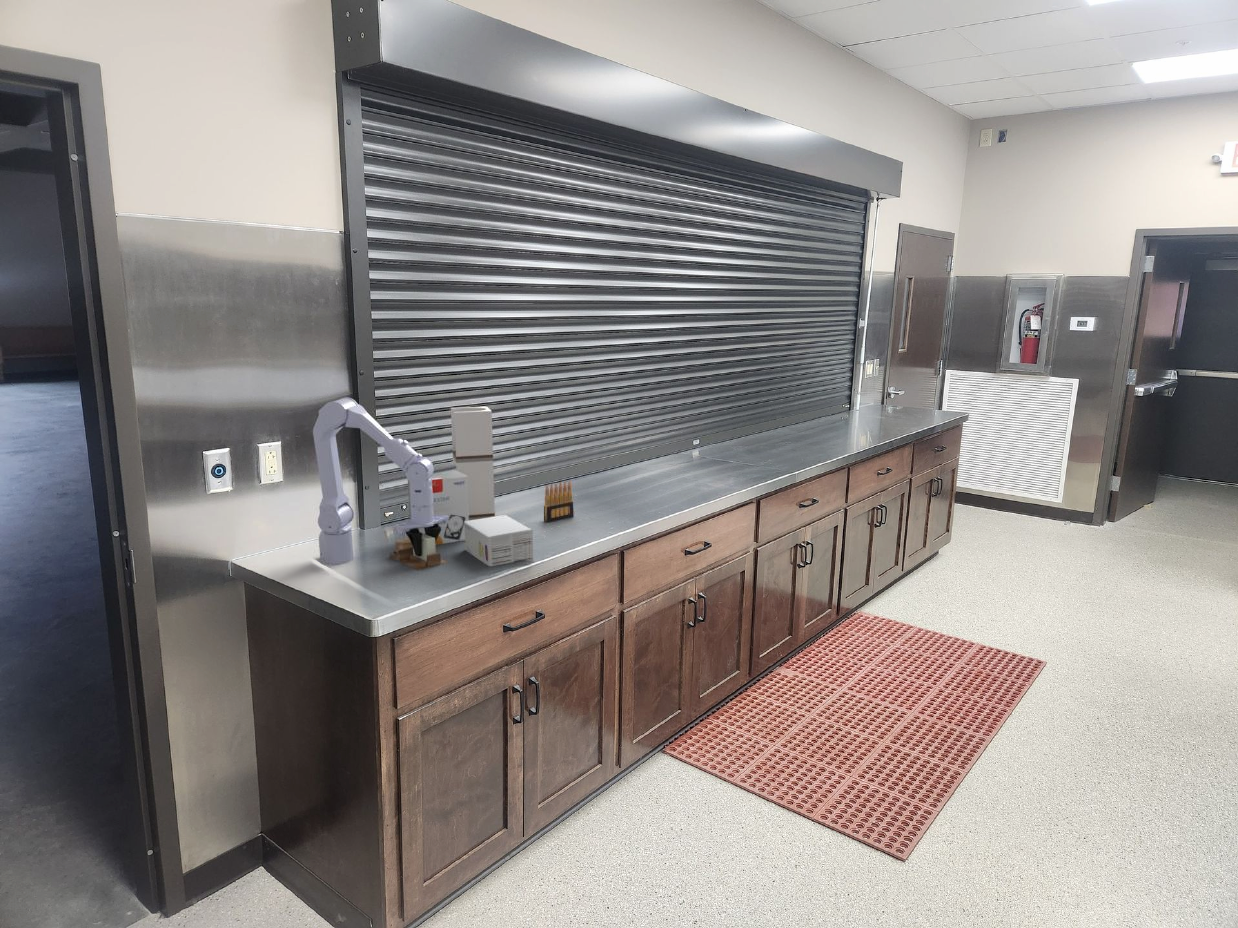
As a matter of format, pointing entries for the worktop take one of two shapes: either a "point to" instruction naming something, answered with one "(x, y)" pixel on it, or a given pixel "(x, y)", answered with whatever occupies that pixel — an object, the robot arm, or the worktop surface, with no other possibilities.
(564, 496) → the ammunition clip
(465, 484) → the hard drive box
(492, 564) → the supplement box
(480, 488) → the tall banded white pillar
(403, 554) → the rack
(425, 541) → the panel
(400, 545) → the offcut upper
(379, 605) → the worktop surface
